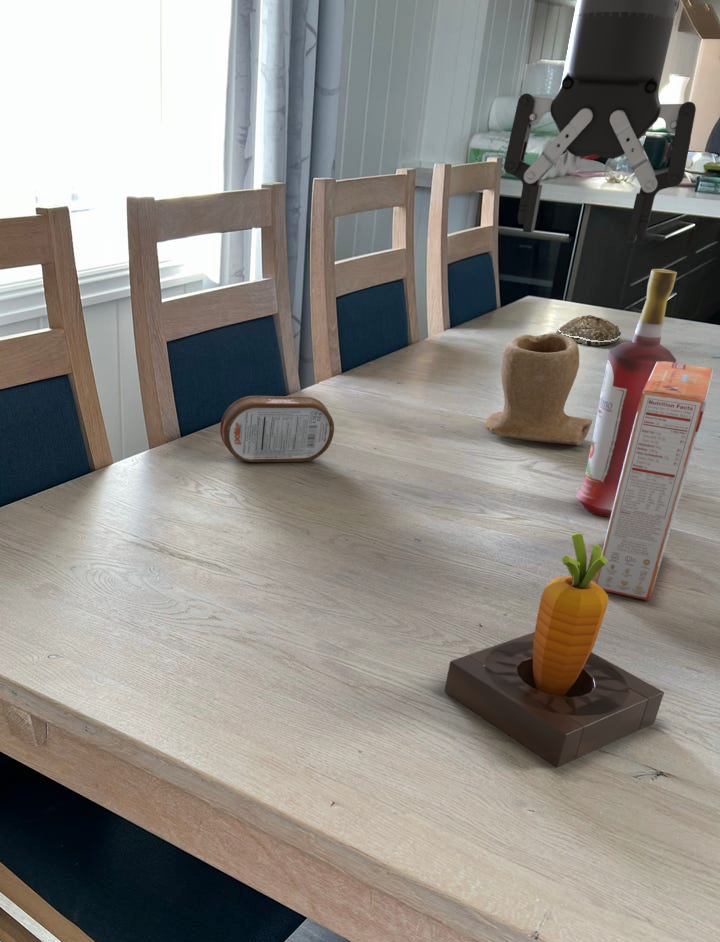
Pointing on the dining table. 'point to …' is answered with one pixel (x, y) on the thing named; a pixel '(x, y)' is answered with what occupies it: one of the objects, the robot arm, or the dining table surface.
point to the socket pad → (552, 701)
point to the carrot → (568, 621)
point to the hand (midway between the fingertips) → (578, 236)
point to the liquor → (625, 396)
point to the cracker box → (653, 477)
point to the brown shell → (590, 330)
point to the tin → (277, 429)
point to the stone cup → (539, 391)
